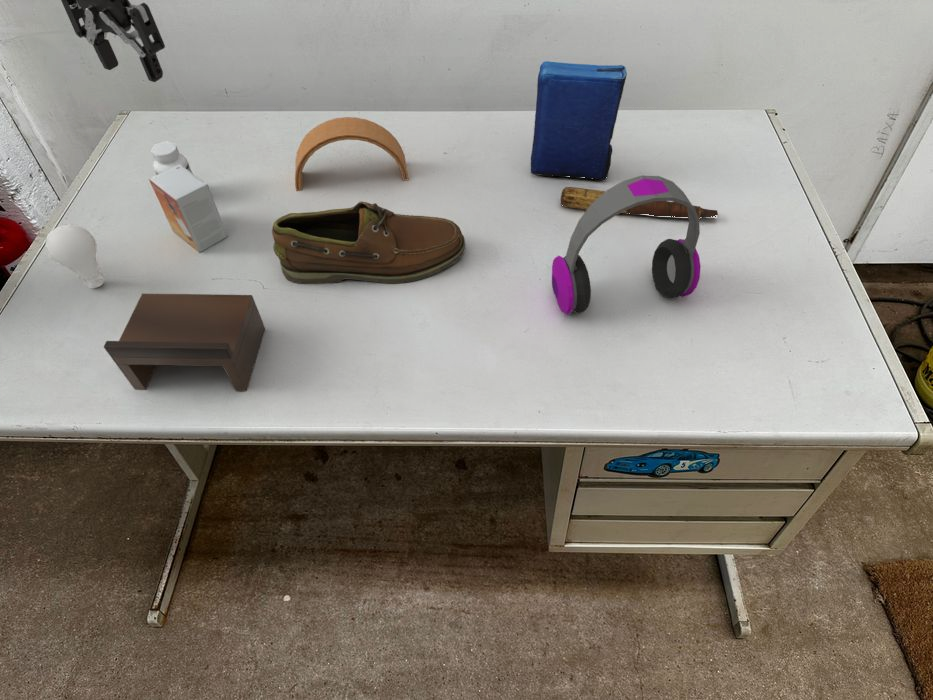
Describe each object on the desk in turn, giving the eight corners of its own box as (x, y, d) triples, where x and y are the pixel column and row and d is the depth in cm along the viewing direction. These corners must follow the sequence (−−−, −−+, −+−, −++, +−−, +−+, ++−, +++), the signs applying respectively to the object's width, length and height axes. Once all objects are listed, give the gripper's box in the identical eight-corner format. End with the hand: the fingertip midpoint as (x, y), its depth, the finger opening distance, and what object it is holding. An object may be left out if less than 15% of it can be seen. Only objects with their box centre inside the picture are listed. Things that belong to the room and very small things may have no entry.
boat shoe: (472, 272, 95) (472, 222, 87) (282, 302, 91) (265, 252, 83) (458, 230, 101) (457, 179, 93) (280, 255, 97) (264, 205, 90)
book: (608, 168, 112) (630, 60, 96) (608, 186, 109) (631, 77, 93) (530, 162, 113) (540, 54, 98) (528, 179, 110) (538, 70, 94)
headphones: (559, 328, 87) (579, 218, 72) (543, 286, 93) (558, 174, 77) (694, 308, 90) (742, 197, 74) (670, 267, 95) (710, 156, 80)
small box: (172, 231, 101) (146, 178, 93) (202, 216, 103) (179, 162, 95) (199, 254, 97) (174, 200, 89) (229, 237, 100) (208, 183, 92)
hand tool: (560, 197, 106) (563, 182, 104) (714, 216, 103) (720, 201, 101) (558, 210, 104) (561, 195, 102) (715, 230, 101) (722, 214, 99)
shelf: (162, 327, 88) (135, 282, 81) (265, 328, 87) (248, 284, 80) (134, 389, 81) (103, 346, 74) (246, 391, 81) (226, 348, 74)
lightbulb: (94, 268, 95) (58, 211, 87) (127, 276, 94) (93, 220, 86) (67, 295, 92) (26, 238, 83) (101, 304, 91) (63, 247, 82)
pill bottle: (162, 202, 106) (138, 153, 98) (182, 185, 109) (161, 135, 101) (187, 209, 104) (165, 160, 97) (207, 192, 108) (187, 143, 100)
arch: (297, 171, 111) (284, 121, 104) (405, 162, 113) (401, 112, 105) (296, 190, 108) (283, 140, 100) (408, 181, 110) (404, 130, 102)
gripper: (16, -50, 77) (79, 75, 90) (101, -32, 74) (154, 95, 86) (62, -68, 82) (116, 53, 94) (145, -53, 78) (189, 72, 91)
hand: (134, 73), depth 90 cm, fingers open, 8 cm apart
